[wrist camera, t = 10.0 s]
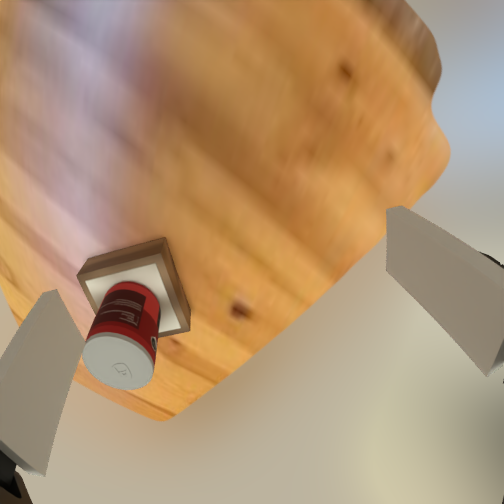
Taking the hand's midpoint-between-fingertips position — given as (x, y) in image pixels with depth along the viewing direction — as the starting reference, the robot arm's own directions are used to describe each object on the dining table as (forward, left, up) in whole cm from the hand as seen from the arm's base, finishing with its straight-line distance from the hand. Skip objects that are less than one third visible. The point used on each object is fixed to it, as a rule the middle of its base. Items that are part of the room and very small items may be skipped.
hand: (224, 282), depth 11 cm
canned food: (+14, -14, -24) cm, 31 cm away
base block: (+14, -14, -29) cm, 35 cm away
